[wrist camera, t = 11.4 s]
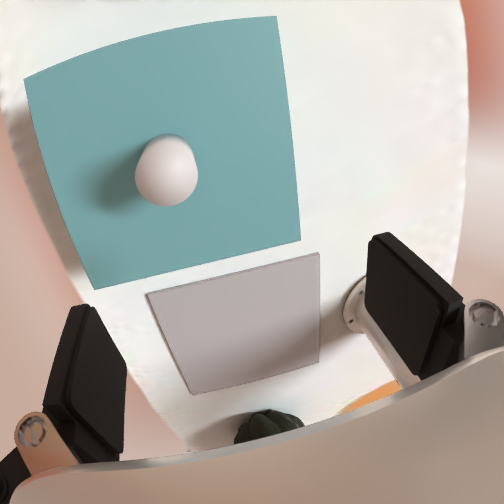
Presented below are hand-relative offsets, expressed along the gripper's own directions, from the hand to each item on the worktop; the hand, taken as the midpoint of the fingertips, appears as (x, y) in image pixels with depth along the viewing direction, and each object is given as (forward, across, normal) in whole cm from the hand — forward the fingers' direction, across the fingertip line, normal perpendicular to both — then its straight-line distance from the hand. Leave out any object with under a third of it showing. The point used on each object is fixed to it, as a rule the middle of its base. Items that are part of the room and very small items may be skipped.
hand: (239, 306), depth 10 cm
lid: (+18, +2, -2) cm, 18 cm away
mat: (+25, -1, +26) cm, 37 cm away
